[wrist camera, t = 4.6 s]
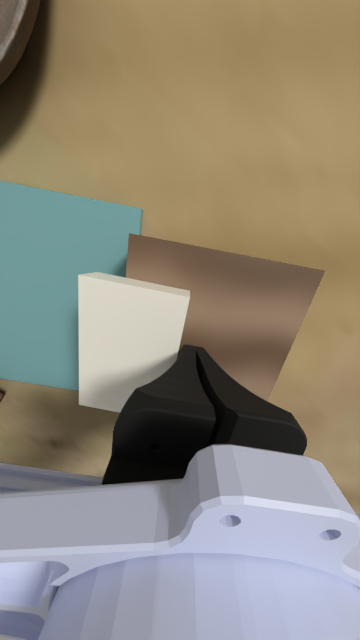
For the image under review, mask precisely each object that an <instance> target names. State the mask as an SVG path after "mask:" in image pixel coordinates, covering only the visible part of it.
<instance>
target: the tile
mask: <svg viewBox="0 0 360 640" xmlns="http://www.w3.org/2000/svg"><path fill="white" fill-rule="evenodd" d="M189 300H190V291H189V290H184V289H179V288H174V287H169V286H165V285H160V284H155V283H150V282H145V281H140V280H135V279H130V278H125V277H120V276H115V275H110V274H105V273H100V272H93V273H87V274H80V275H78V313H79V405H83V406H88V407H93V408H98V409H103V410H109V411H114V412H119V413H120V412H121V410H122V408H123V406H124V405H125V403H126V401H127V400H128V398H129V397H130V396H131V394H132V393H133V392H134V390H135V389H136V388H138V387H141V386H143V385H146V384H148V383H150V382H152V381H153V380H155V379H157V378H158V377H160V376H161V375H162V374H163V373H165V372H166V371H167V370H168V369H169V368H170V367H171V366H172V365H173V364H174V362H175V361H176V360H177V356H178V351H179V346H180V342H181V337H182V332H183V328H184V323H185V318H186V314H187V309H188V304H189Z"/></svg>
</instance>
